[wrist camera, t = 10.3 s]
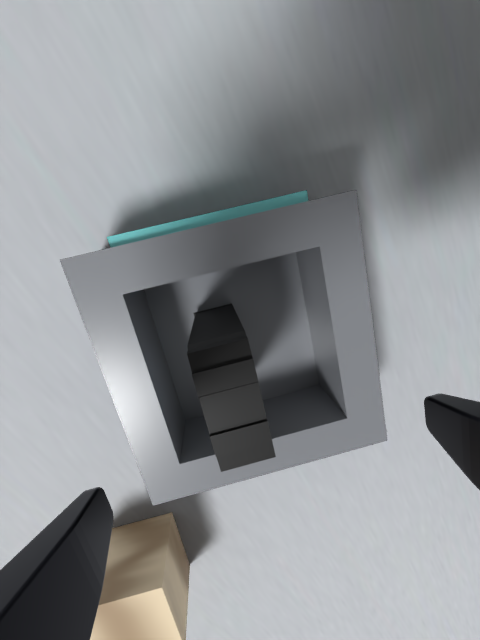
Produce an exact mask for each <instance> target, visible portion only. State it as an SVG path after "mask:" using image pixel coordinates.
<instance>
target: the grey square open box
mask: <svg viewBox="0 0 480 640" xmlns="http://www.w3.org/2000/svg"><path fill="white" fill-rule="evenodd" d="M107 239H108V242H109V245H110V248H108V249H103V250H99V251H95V252H91V253H86V254H82V255H78V256H74V257H70V258H65V259H61V260H60V262H61V265H62V267H63V270H64V273H65V275H66V278H67V280H68V283H69V286H70V288H71V291H72V294H73V296H74V299H75V302H76V304H77V307H78V310H79V312H80V315H81V317H82V320H83V323H84V325H85V328H86V331H87V333H88V336H89V339H90V341H91V344H92V346H93V349H94V352H95V354H96V357H97V360H98V362H99V365H100V368H101V370H102V373H103V376H104V378H105V381H106V383H107V386H108V389H109V391H110V394H111V397H112V399H113V402H114V405H115V407H116V410H117V413H118V415H119V418H120V420H121V423H122V426H123V428H124V431H125V434H126V436H127V439H128V442H129V444H130V447H131V450H132V452H133V455H134V457H135V460H136V463H137V465H138V468H139V471H140V473H141V476H142V479H143V481H144V484H145V486H146V489H147V492H148V494H149V497H150V500H151V502H152V505H153V506H154V505H157V504H161V503H165V502H168V501H172V500H175V499H179V498H182V497H186V496H190V495H193V494H197V493H200V492H204V491H208V490H211V489H215V488H218V487H222V486H226V485H229V484H233V483H236V482H240V481H244V480H247V479H251V478H254V477H258V476H262V475H265V474H269V473H272V472H276V471H279V470H283V469H287V468H290V467H294V466H297V465H301V464H305V463H308V462H312V461H315V460H319V459H323V458H326V457H330V456H333V455H337V454H341V453H344V452H348V451H351V450H355V449H358V448H362V447H366V446H369V445H373V444H376V443H380V442H384V441H387V433H386V425H385V417H384V409H383V401H382V393H381V385H380V377H379V369H378V361H377V353H376V345H375V337H374V329H373V320H372V312H371V304H370V296H369V288H368V280H367V272H366V264H365V256H364V248H363V240H362V232H361V224H360V216H359V208H358V200H357V192H356V190H353V191H348V192H344V193H340V194H336V195H331V196H327V197H323V198H319V199H315V200H310V201H308V195H307V190H305V191H301V192H296V193H292V194H288V195H284V196H279V197H275V198H271V199H267V200H262V201H258V202H254V203H250V204H245V205H241V206H237V207H233V208H228V209H224V210H220V211H216V212H211V213H207V214H203V215H199V216H194V217H190V218H186V219H182V220H177V221H173V222H169V223H164V224H160V225H156V226H152V227H147V228H143V229H139V230H135V231H130V232H126V233H122V234H118V235H113V236H109V237H107ZM231 303H232V305H233V307H234V309H235V311H236V313H237V315H238V317H239V319H240V322H241V324H242V326H243V328H244V330H245V333H246V336H247V338H248V341H249V345H250V349H251V353H252V357H253V361H254V365H255V369H256V373H257V377H258V382H259V386H260V391H261V395H262V399H263V403H264V408H265V412H266V416H267V420H268V424H269V428H270V433H271V437H272V441H273V447H274V451H275V455H276V457H274V458H270V459H267V460H263V461H260V462H256V463H252V464H249V465H245V466H241V467H238V468H234V469H230V470H227V471H223V472H221V470H220V467H219V464H218V461H217V457H216V456H215V453H214V449H213V446H212V443H211V440H210V435H209V431H208V428H207V424H206V421H205V417H204V414H203V411H202V407H201V404H200V400H199V397H198V395H197V391H196V388H195V384H194V381H193V377H192V371H191V367H190V363H189V360H188V356H187V351H188V346H187V345H188V341H189V337H190V333H191V329H192V326H193V322H194V314H193V313H195V312H199V311H203V310H207V309H211V308H215V307H219V306H223V305H227V304H231Z"/></svg>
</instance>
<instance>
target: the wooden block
mask: <svg viewBox="0 0 480 640" xmlns="http://www.w3.org/2000/svg"><path fill="white" fill-rule="evenodd" d="M189 570H190V564H189V561H188V558H187V555H186V552H185V549H184V546H183V543H182V540H181V537H180V534H179V531H178V529H177V526H176V523H175V520H174V517H173V514H172V512H171V513H168V514H164V515H160V516H156V517H153V518H149V519H145V520H141V521H138V522H134V523H130V524H126V525H123V526H119V527H115V528H112V533H111V539H110V545H109V552H108V558H107V564H106V571H105V577H104V583H103V588H102V593H101V597H100V601H99V605H98V609H97V613H96V617H95V621H94V625H93V629H92V633H91V637H90V640H186V624H187V606H188V588H189Z"/></svg>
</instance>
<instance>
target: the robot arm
mask: <svg viewBox="0 0 480 640" xmlns="http://www.w3.org/2000/svg"><path fill="white" fill-rule="evenodd" d="M424 407H425V418H426V425H427V428H428V430H429V431H430V433H431V434H432V435H433V436H434V438H435V439H436V440H437V441H438V442H439V444H440V445H441V446H442V447H443V448H444V450H445V451H446V452H447V453H448V454H449V456H450V457H451V458H452V459H453V460H454V462H455V463H456V464H457V465H458V466H459V468H460V469H461V470H462V471H463V472H464V474H465V475H466V476H467V477H468V478H469V479H470V480H471V482H472V483H473V484H474V485H475V486H476V487H477V488H478V489H479V490H480V402H477V401H473V400H468V399H463V398H459V397H454V396H450V395H445V394H435V395H432V396H428V397H426V398H425V400H424ZM112 526H113V511H112V509H111V506H110V504H109V501H108V499H107V497H106V494H105V492H104V490H103V489H102V488H100V487H97V488H93V489H90V490H86V491H84V492H83V493H82V494H81V495H80V496H79V497H78V498H76V499H75V500H74V501H73V502H72V503H71V504H70V505H69V506H68V507H67V508H66V509H65V510H64V511H63V512H62V513H61V514H59V515H58V516H57V517H56V518H55V519H54V520H53V521H52V522H51V523H50V524H49V525H48V526H47V527H46V528H45V529H44V530H43V531H41V532H40V533H39V534H38V535H37V536H36V537H35V538H34V539H33V540H32V541H31V542H30V543H29V544H28V545H27V546H26V547H24V548H23V549H22V550H21V551H20V552H19V553H18V554H17V555H16V556H15V557H14V558H13V559H12V560H11V561H10V562H9V563H7V564H6V565H5V566H4V567H3V568H2V569H1V570H0V640H90V637H91V633H92V629H93V625H94V621H95V617H96V613H97V609H98V605H99V601H100V597H101V593H102V588H103V583H104V577H105V571H106V564H107V558H108V552H109V545H110V539H111V533H112Z"/></svg>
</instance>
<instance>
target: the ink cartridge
mask: <svg viewBox="0 0 480 640" xmlns="http://www.w3.org/2000/svg"><path fill="white" fill-rule="evenodd" d="M193 314H194V322H193V326H192V329H191V333H190V337H189V341H188V345H187V346H188V351H187V356H188V360H189V363H190V367H191V371H192V377H193V381H194V384H195V388H196V391H197V395H198V397H199V400H200V404H201V407H202V411H203V414H204V417H205V421H206V424H207V428H208V431H209V435H210V440H211V443H212V446H213V449H214V453H215V456H216V457H217V461H218V464H219V467H220V470H221V472H223V471H227V470H230V469H234V468H238V467H241V466H245V465H249V464H252V463H256V462H260V461H263V460H267V459H270V458H274V457H276V455H275V451H274V447H273V441H272V437H271V433H270V428H269V424H268V420H267V416H266V412H265V408H264V403H263V399H262V395H261V391H260V386H259V382H258V377H257V373H256V369H255V365H254V361H253V357H252V353H251V349H250V345H249V341H248V338H247V336H246V333H245V330H244V328H243V326H242V324H241V322H240V319H239V317H238V315H237V313H236V311H235V309H234V307H233V305H232V303H231V304H227V305H223V306H219V307H215V308H211V309H207V310H203V311H199V312H195V313H193Z"/></svg>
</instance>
